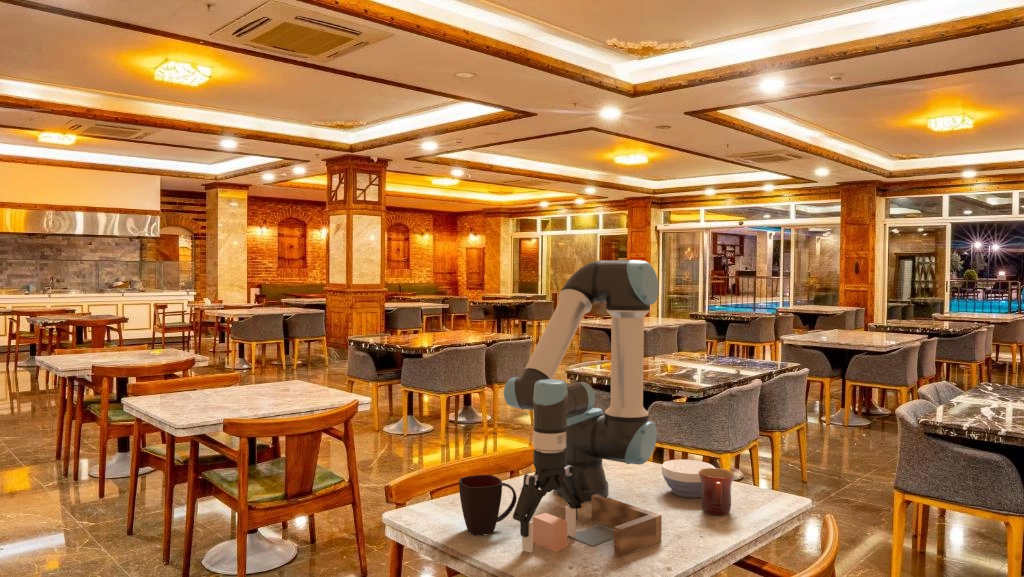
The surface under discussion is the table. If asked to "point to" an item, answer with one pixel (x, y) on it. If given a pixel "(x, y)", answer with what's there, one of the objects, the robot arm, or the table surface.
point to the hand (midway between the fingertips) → (549, 542)
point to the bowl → (684, 476)
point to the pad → (594, 535)
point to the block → (550, 532)
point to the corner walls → (627, 524)
